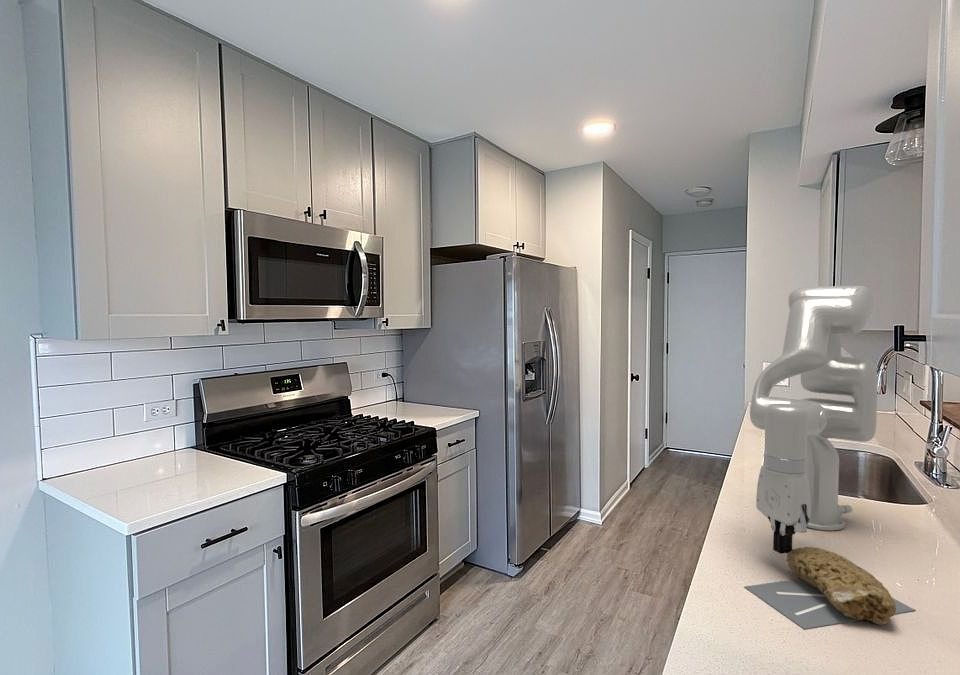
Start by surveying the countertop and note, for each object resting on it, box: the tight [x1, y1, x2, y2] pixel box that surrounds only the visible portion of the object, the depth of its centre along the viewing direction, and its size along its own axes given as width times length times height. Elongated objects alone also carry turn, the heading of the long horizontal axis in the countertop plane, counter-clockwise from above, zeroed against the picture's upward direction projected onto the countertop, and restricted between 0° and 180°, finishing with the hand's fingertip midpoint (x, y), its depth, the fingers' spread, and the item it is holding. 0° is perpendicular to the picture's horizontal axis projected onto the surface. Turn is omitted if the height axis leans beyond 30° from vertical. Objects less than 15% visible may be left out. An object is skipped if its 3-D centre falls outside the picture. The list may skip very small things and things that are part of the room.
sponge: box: [785, 546, 896, 625], centre depth 98 cm, size 13×8×20 cm
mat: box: [744, 578, 916, 630], centre depth 97 cm, size 24×14×1 cm, turn 103°
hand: (782, 551), depth 108 cm, fingers closed
